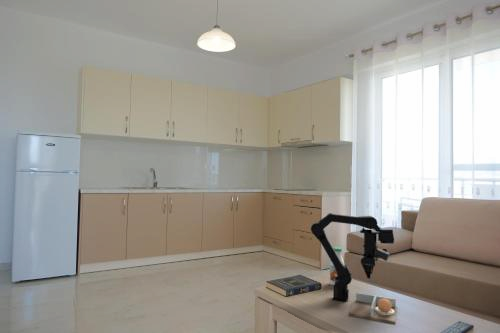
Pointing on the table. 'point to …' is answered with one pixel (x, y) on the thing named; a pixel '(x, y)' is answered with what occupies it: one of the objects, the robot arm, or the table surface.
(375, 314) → the board
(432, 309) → the table surface
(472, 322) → the table surface
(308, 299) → the table surface
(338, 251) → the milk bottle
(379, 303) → the ball
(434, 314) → the table surface
